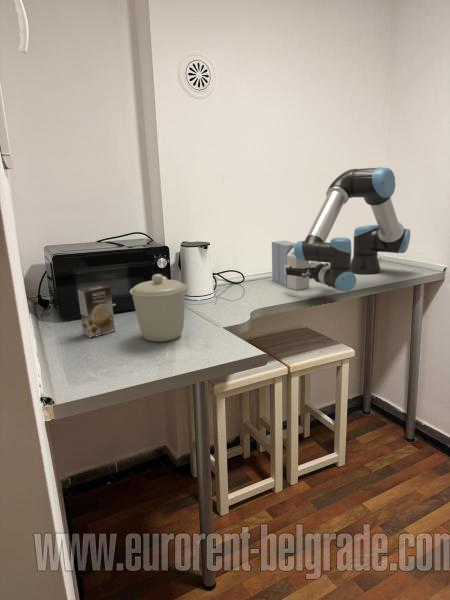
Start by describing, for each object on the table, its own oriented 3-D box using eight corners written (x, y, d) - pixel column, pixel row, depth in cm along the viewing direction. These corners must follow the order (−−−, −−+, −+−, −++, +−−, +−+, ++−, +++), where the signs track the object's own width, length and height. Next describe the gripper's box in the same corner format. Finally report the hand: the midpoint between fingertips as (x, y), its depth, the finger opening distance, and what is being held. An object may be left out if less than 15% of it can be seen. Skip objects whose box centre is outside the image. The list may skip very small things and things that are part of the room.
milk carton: (299, 285, 200) (299, 244, 194) (309, 288, 194) (309, 246, 188) (286, 287, 196) (286, 246, 191) (296, 290, 190) (296, 247, 185)
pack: (285, 278, 213) (284, 240, 208) (299, 284, 200) (299, 243, 195) (271, 280, 210) (271, 241, 205) (285, 286, 198) (285, 245, 193)
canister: (166, 350, 130) (160, 283, 124) (123, 341, 139) (115, 277, 134) (201, 332, 144) (197, 270, 139) (160, 324, 154) (154, 266, 148)
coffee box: (91, 338, 143) (84, 292, 139) (82, 334, 148) (76, 289, 143) (116, 331, 149) (110, 286, 145) (107, 327, 154) (101, 283, 149)
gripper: (298, 288, 169) (273, 277, 188) (351, 280, 177) (322, 270, 196) (298, 269, 167) (272, 260, 186) (351, 262, 175) (322, 254, 194)
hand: (298, 265), depth 191 cm, fingers open, 13 cm apart
